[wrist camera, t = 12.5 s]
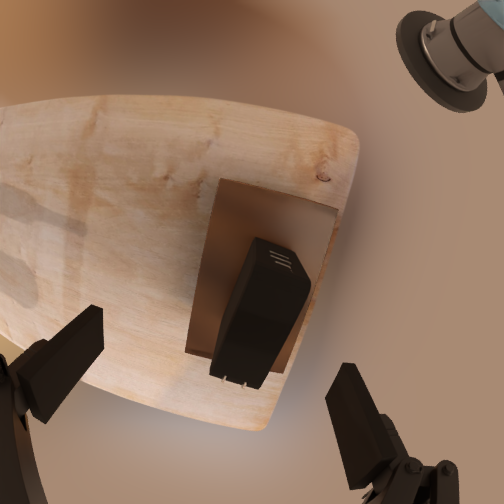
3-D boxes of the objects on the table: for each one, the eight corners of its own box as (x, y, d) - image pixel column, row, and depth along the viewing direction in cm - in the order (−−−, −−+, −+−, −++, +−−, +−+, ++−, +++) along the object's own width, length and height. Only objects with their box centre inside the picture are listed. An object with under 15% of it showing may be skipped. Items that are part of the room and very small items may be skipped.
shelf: (230, 179, 37) (219, 177, 26) (314, 201, 38) (339, 209, 26) (201, 309, 42) (184, 352, 30) (276, 326, 43) (283, 373, 31)
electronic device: (294, 249, 27) (314, 286, 18) (257, 332, 30) (257, 394, 20) (254, 234, 27) (254, 263, 17) (220, 320, 29) (206, 379, 20)
